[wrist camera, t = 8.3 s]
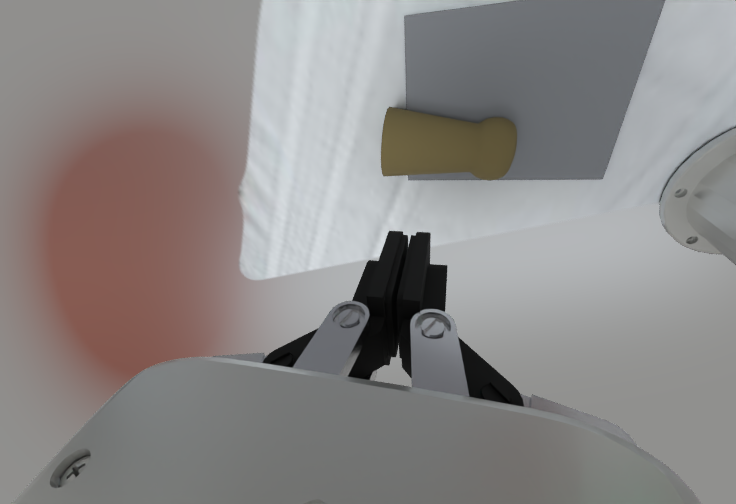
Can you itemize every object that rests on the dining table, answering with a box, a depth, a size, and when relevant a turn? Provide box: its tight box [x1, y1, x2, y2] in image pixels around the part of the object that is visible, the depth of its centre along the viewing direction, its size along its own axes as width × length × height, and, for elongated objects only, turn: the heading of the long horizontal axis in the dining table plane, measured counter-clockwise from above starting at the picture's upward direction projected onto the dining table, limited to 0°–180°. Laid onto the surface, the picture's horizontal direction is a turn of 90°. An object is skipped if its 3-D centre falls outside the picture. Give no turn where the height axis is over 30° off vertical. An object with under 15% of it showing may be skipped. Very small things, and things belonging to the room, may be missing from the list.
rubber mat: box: [404, 0, 665, 180], centre depth 27 cm, size 18×14×1 cm
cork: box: [381, 107, 517, 180], centre depth 28 cm, size 6×6×11 cm
